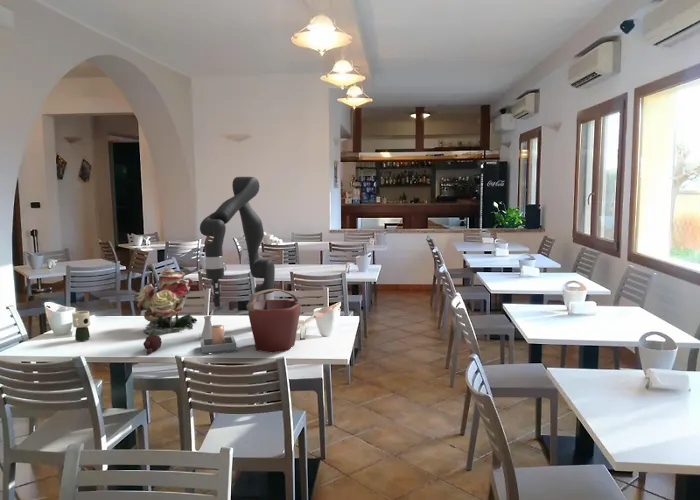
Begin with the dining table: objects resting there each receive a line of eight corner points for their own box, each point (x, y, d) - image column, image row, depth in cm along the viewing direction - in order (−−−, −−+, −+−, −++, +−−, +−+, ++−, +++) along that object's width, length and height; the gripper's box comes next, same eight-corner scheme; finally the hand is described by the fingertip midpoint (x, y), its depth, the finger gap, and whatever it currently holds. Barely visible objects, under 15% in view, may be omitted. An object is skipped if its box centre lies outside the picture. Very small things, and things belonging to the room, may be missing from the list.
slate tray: (233, 343, 252) (233, 336, 252) (236, 351, 241) (236, 343, 241) (200, 346, 248) (200, 339, 248) (202, 354, 237) (201, 346, 237)
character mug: (85, 343, 257) (82, 315, 255) (69, 343, 257) (67, 315, 255) (95, 336, 267) (94, 309, 266) (80, 337, 267) (78, 309, 266)
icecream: (148, 331, 251) (134, 343, 237) (164, 327, 251) (151, 339, 236) (154, 345, 253) (140, 359, 238) (169, 341, 252) (157, 354, 237)
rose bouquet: (136, 325, 288) (133, 266, 284) (196, 320, 297) (194, 263, 293) (135, 338, 264) (131, 274, 260) (200, 332, 273) (197, 270, 269)
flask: (212, 340, 259) (211, 318, 257) (197, 339, 260) (196, 318, 259) (219, 336, 266) (218, 315, 264) (204, 335, 267) (203, 314, 266)
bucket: (251, 357, 233) (249, 297, 230) (239, 343, 253) (237, 287, 250) (308, 349, 242) (307, 291, 239) (292, 336, 263) (291, 283, 260)
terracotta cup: (224, 344, 248) (223, 324, 246) (225, 348, 243) (224, 327, 242) (211, 345, 246) (211, 325, 245) (212, 349, 241) (211, 328, 240)
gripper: (225, 268, 235) (227, 307, 237) (222, 263, 248) (224, 300, 250) (206, 269, 232) (208, 309, 235) (204, 264, 246) (206, 301, 248)
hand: (216, 304), depth 242 cm, fingers open, 8 cm apart
